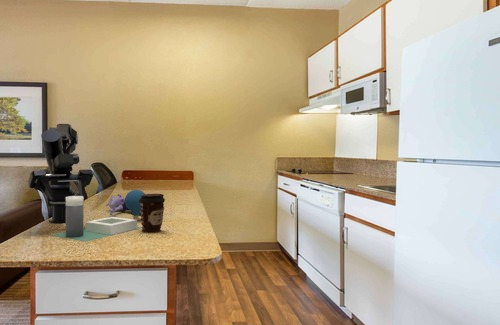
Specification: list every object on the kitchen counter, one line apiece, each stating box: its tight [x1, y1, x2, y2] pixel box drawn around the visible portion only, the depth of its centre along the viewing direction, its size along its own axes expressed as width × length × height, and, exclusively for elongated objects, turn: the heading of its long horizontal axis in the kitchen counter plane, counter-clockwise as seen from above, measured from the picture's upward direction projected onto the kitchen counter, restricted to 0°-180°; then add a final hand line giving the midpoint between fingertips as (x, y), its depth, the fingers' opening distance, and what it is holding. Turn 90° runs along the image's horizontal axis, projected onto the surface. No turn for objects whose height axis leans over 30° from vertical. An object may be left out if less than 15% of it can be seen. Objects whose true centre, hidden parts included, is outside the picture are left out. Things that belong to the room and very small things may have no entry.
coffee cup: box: [139, 193, 166, 234], centre depth 132 cm, size 9×8×13 cm
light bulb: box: [124, 189, 146, 221], centre depth 155 cm, size 8×8×12 cm
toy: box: [104, 194, 165, 216], centre depth 172 cm, size 26×9×30 cm
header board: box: [49, 216, 142, 243], centre depth 130 cm, size 16×24×4 cm, turn 153°
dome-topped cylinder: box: [65, 195, 85, 238], centre depth 123 cm, size 5×5×12 cm
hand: (68, 198), depth 127 cm, fingers open, 9 cm apart
